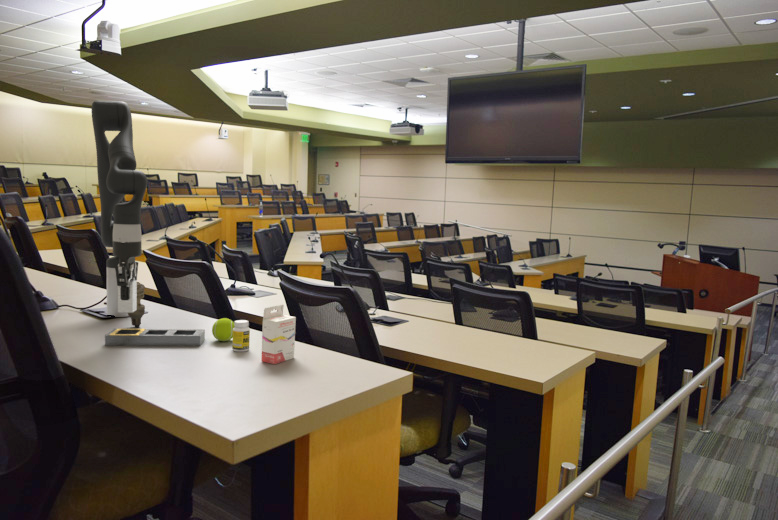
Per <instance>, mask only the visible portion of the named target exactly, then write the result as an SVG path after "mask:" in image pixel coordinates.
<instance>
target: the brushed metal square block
mask: <svg viewBox="0 0 778 520" xmlns="http://www.w3.org/2000/svg"><path fill="white" fill-rule="evenodd" d="M137 280H138V279H137ZM137 280H130V286H129V300H121V294H120V287H119V286H118V312H128V313H133V312H134V311H136V310H137V282H138V281H137ZM122 282H124V279H123V281H122Z"/></svg>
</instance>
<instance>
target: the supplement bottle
mask: <svg viewBox="0 0 778 520" xmlns="http://www.w3.org/2000/svg"><path fill="white" fill-rule="evenodd" d="M233 322H234V326H235V327H234V328H233V338H232V351H233V352H236V353H237V352H239V353H241V352H242V353H243V352H247V351H250V334H251V333H250V331H251V330H250V327H249V326H250V323H249V320H246V319H237V320H234V321H233Z"/></svg>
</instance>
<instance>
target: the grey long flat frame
mask: <svg viewBox="0 0 778 520" xmlns="http://www.w3.org/2000/svg"><path fill="white" fill-rule="evenodd" d="M205 331H206V330H205V329H201V328H200V329H198V328H197V329H196V328H195V329H186V328H185V329H183V328H182V329H181V328H180V329H179V328H178V329H177V328H176V329H175V328H174V329H172V328H171V329H170V328H169V329H167V328H164V329H163V328H162V329H161V328H113V329H112V330H111V331H109V332H108V333H106V334H105V335H104V346H105V347H110V346H111V347H113V346H115V347H119V346H120V347H127V346H128V347H130V346H131V347H201V345H202V344H203V343H204V341H205V337H206V336H205V333H206V332H205Z"/></svg>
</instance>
